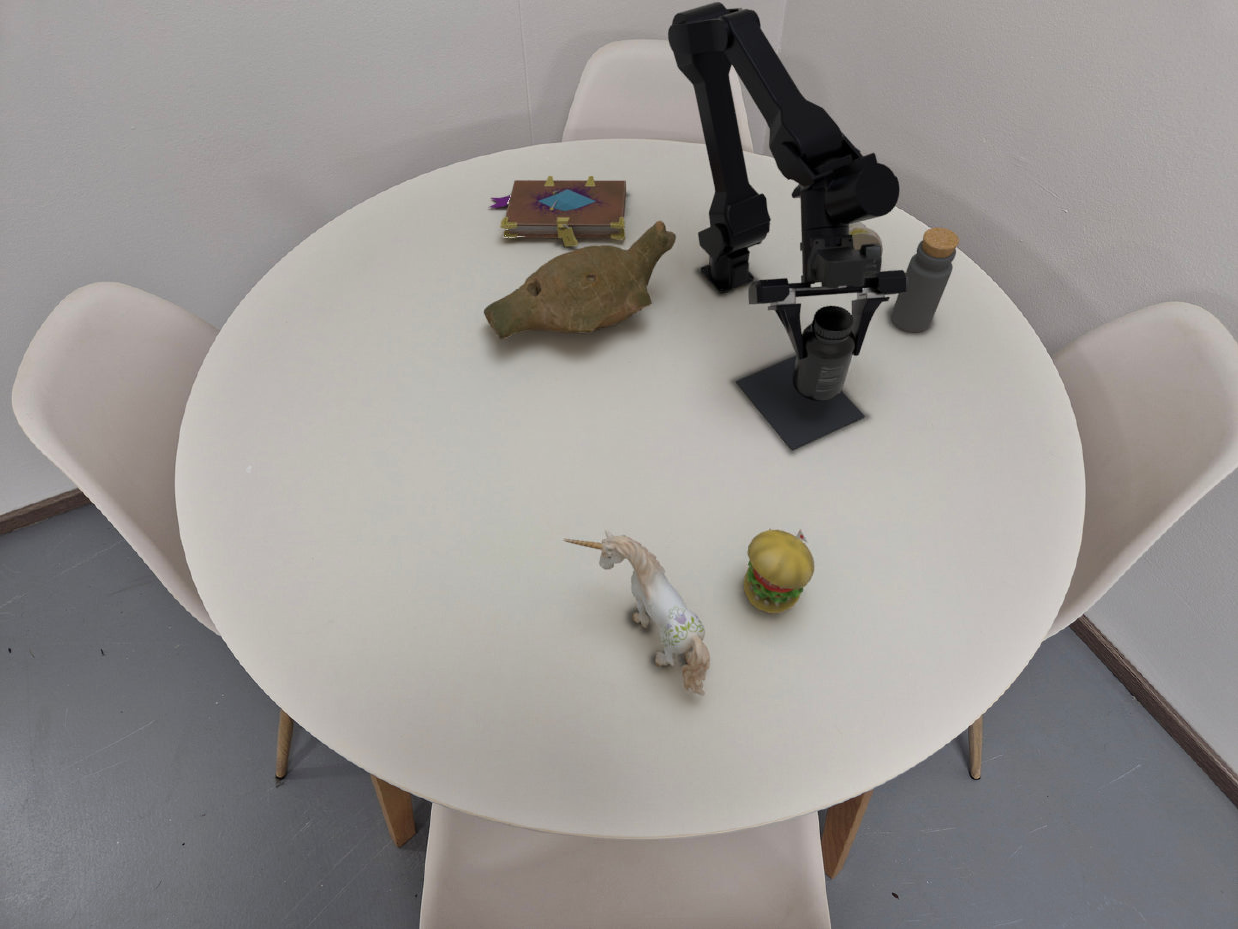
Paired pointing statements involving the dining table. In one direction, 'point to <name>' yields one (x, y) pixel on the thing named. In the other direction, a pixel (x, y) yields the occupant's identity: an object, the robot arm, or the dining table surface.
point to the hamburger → (777, 570)
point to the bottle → (926, 280)
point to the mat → (795, 406)
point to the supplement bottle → (825, 354)
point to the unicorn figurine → (659, 606)
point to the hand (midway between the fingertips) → (828, 357)
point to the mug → (863, 235)
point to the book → (565, 209)
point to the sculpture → (583, 288)
